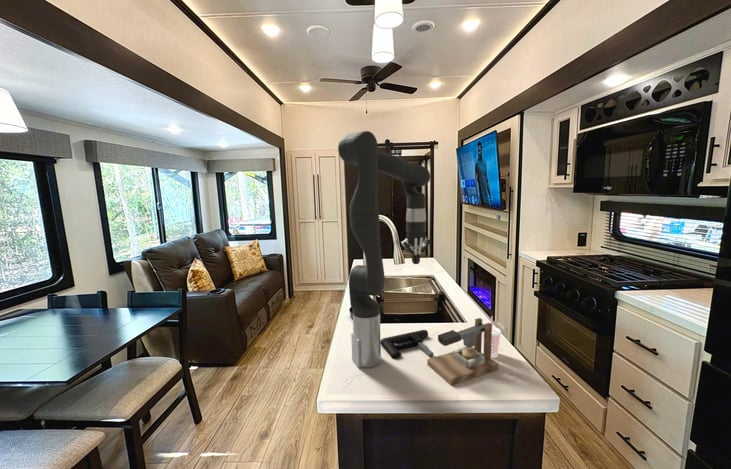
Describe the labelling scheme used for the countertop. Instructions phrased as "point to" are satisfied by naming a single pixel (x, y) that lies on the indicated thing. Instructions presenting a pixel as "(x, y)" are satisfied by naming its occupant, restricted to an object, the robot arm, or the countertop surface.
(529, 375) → the countertop surface
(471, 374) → the nutcracker bench
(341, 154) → the robot arm
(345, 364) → the countertop surface
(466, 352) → the wooden nut
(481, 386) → the countertop surface
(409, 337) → the black toy gun
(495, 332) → the beverage cup
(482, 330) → the nutcracker lever
